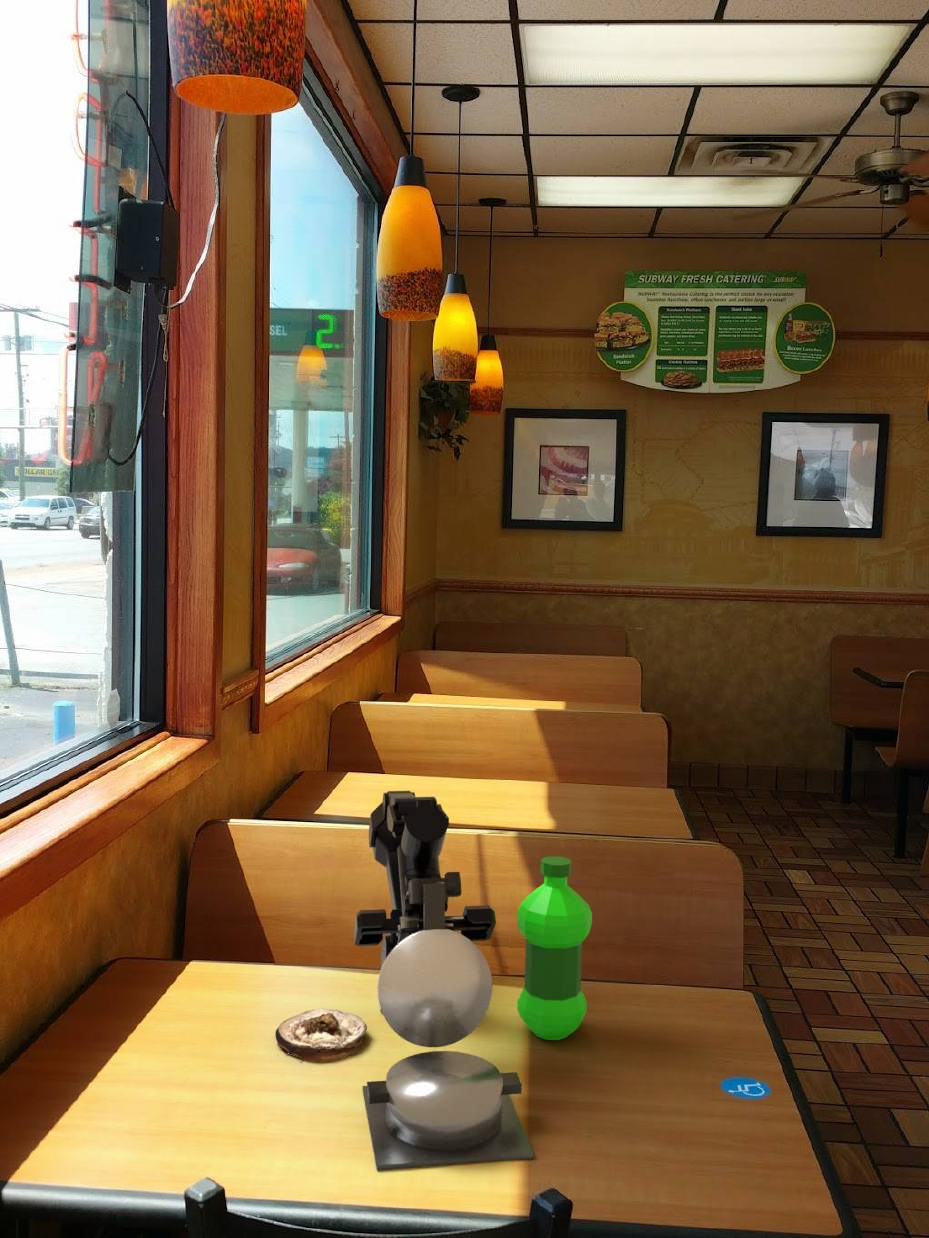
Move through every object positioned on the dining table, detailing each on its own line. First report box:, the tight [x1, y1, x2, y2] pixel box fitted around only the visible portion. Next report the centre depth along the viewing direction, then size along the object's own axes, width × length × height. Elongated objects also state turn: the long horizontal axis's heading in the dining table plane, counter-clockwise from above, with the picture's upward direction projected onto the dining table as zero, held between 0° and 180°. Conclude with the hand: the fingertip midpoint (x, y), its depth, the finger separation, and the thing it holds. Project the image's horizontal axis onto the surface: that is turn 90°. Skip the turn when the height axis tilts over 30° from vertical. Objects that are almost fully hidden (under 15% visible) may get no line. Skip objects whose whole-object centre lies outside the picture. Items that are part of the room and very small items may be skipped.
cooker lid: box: [377, 882, 493, 1048], centre depth 147 cm, size 20×15×2 cm
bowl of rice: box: [274, 1008, 368, 1064], centre depth 159 cm, size 15×15×4 cm
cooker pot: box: [362, 1050, 534, 1171], centre depth 139 cm, size 18×18×6 cm
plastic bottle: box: [516, 856, 593, 1041], centre depth 163 cm, size 10×10×25 cm
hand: (430, 986), depth 150 cm, fingers closed
